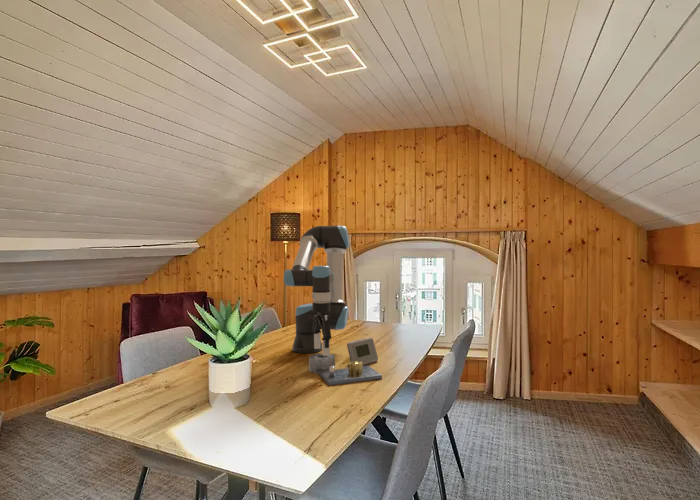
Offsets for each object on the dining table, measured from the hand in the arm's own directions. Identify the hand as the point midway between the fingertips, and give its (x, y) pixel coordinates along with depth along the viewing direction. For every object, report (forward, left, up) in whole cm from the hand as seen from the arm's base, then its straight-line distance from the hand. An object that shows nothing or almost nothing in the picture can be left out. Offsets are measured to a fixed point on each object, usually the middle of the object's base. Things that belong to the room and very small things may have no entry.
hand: (321, 352), depth 182 cm
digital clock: (-3, +20, -8) cm, 22 cm away
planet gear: (0, 0, -8) cm, 8 cm away
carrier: (+13, +8, -8) cm, 17 cm away
